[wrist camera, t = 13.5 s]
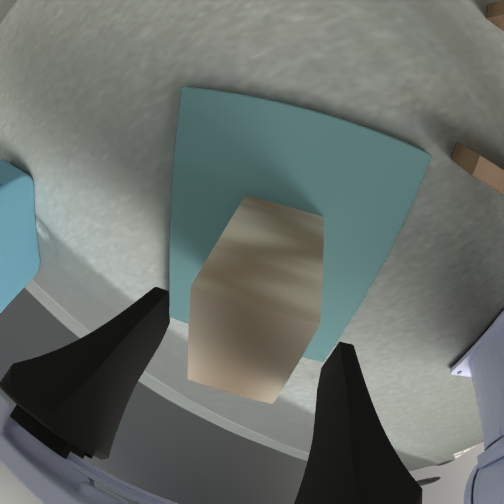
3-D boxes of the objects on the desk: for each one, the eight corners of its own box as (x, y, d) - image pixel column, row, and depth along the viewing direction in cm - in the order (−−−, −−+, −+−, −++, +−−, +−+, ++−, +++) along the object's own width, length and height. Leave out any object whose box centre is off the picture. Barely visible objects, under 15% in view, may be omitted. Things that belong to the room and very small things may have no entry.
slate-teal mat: (426, 151, 11) (431, 155, 11) (323, 353, 21) (323, 361, 20) (188, 86, 12) (181, 87, 12) (174, 309, 22) (170, 317, 21)
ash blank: (324, 217, 14) (320, 324, 8) (292, 301, 17) (272, 404, 12) (245, 195, 14) (190, 286, 9) (229, 283, 18) (187, 379, 12)
